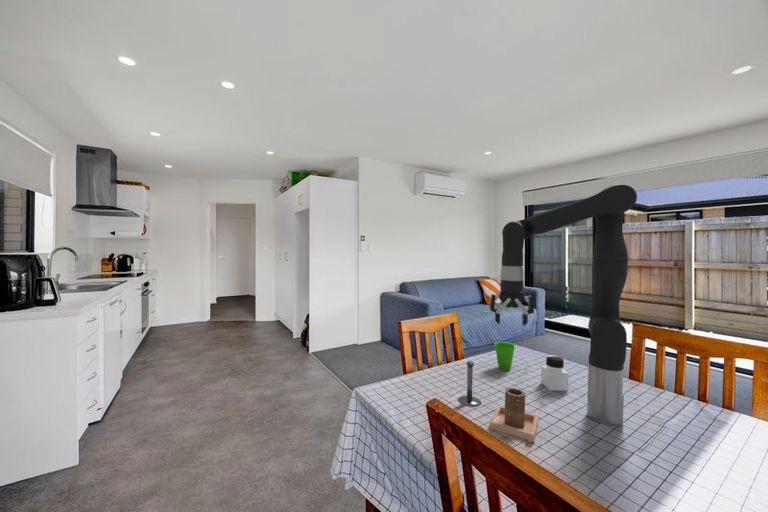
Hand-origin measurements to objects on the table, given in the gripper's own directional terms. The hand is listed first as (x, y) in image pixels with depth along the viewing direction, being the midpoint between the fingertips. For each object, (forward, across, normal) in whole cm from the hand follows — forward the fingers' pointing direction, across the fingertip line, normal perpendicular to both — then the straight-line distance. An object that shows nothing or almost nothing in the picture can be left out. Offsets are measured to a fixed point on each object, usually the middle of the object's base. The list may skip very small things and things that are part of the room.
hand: (511, 324), depth 109 cm
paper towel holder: (+28, -14, -3) cm, 32 cm away
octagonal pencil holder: (+27, -1, -15) cm, 31 cm away
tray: (+28, -1, -16) cm, 32 cm away
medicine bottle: (+28, +20, +17) cm, 39 cm away
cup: (+28, +4, +32) cm, 43 cm away
